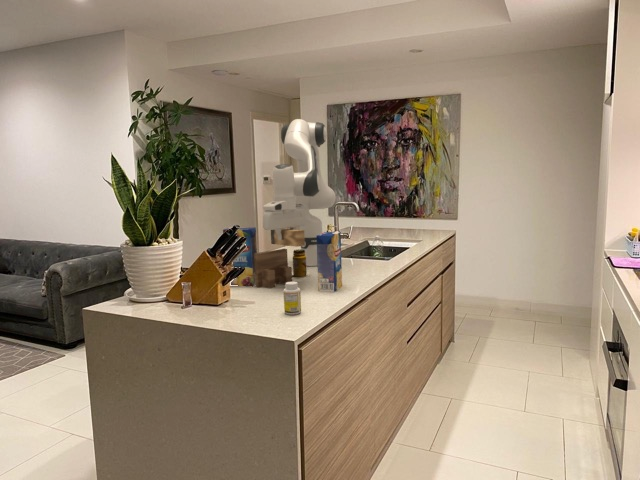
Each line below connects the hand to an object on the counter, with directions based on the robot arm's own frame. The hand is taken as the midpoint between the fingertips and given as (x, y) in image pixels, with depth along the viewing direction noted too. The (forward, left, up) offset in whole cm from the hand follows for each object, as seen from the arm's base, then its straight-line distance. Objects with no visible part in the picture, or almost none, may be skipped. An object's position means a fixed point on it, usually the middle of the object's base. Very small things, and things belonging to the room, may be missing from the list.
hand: (286, 239), depth 199 cm
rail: (0, +1, -2) cm, 2 cm away
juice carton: (+9, -19, -20) cm, 29 cm away
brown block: (0, -8, -20) cm, 21 cm away
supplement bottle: (+23, +31, -20) cm, 43 cm away
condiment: (-17, -13, -20) cm, 29 cm away
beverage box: (-10, +15, -20) cm, 27 cm away
